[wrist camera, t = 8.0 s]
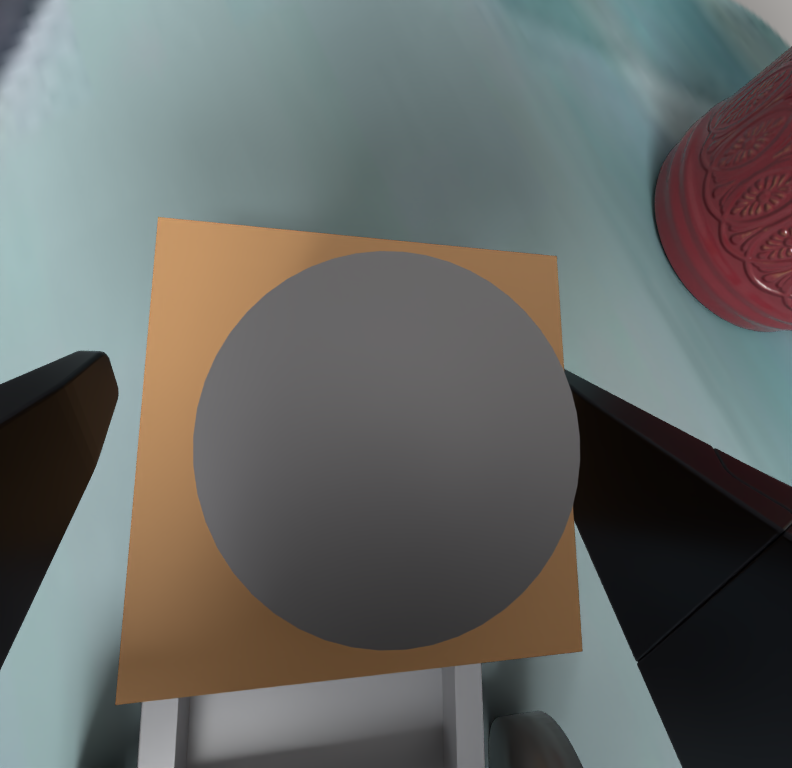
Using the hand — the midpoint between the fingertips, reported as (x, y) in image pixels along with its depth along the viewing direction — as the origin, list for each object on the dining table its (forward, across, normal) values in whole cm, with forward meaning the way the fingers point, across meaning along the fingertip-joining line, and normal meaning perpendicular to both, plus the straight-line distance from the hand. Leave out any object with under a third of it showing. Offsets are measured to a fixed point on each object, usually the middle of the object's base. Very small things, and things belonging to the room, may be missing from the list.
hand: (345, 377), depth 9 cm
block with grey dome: (+5, 0, +7) cm, 8 cm away
